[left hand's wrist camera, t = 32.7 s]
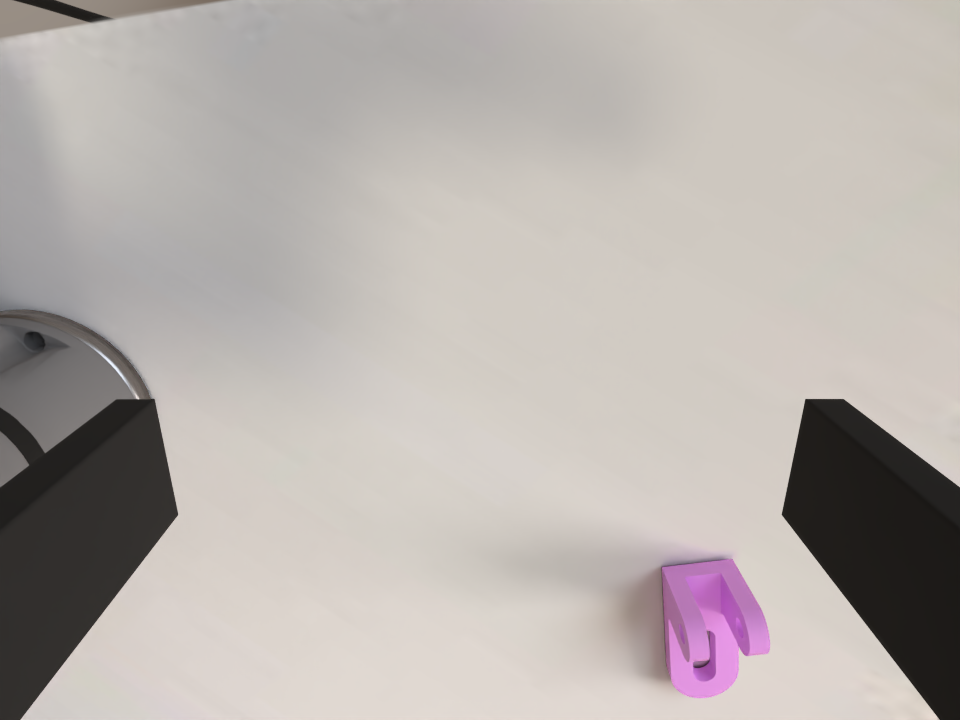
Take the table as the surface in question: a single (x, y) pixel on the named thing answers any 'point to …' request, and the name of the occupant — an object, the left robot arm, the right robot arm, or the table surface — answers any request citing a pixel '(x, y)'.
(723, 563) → the bracket
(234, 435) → the table surface
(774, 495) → the table surface
